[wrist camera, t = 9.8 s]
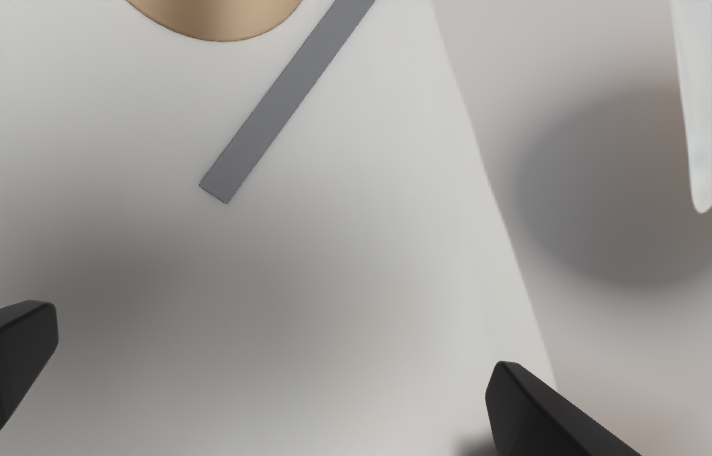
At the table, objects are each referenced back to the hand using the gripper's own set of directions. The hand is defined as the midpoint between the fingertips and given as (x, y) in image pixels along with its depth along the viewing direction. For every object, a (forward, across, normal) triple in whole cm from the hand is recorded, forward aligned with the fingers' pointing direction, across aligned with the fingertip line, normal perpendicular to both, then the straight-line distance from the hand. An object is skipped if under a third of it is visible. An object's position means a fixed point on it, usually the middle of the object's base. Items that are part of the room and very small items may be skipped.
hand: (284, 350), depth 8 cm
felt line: (+15, +1, -6) cm, 16 cm away
